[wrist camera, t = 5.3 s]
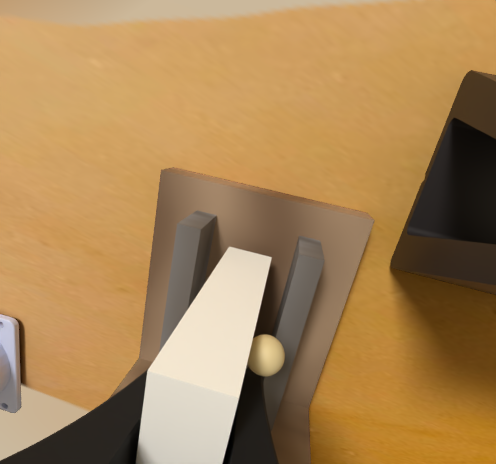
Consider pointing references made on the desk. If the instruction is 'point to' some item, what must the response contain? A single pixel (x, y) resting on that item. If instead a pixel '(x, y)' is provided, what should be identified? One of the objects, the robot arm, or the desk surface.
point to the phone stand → (458, 196)
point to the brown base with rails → (276, 288)
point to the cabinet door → (207, 366)
